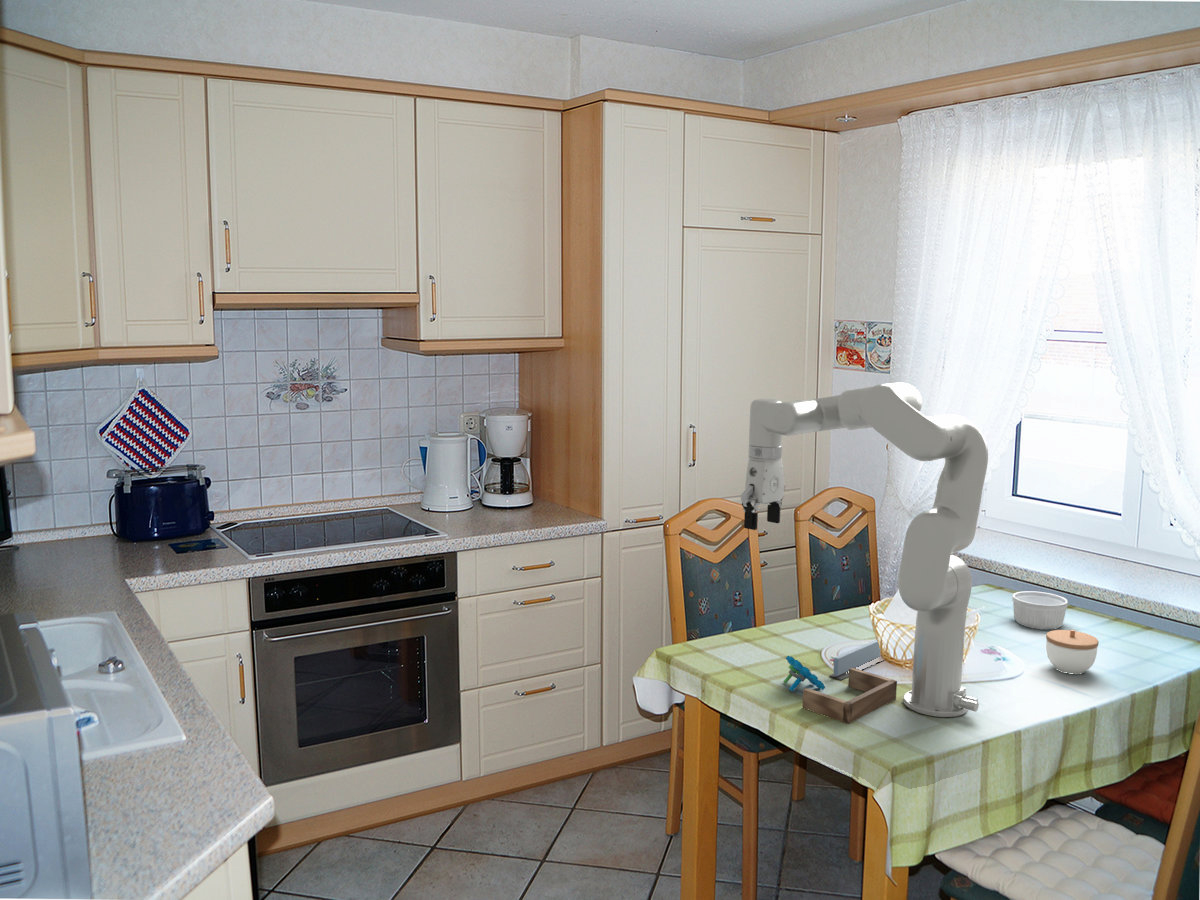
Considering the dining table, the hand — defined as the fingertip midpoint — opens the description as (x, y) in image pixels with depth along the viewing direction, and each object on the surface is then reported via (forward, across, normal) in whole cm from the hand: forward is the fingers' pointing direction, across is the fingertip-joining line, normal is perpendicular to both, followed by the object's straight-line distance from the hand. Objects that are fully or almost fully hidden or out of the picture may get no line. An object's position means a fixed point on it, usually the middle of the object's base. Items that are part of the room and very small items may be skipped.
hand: (762, 525), depth 234 cm
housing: (+30, -4, -29) cm, 42 cm away
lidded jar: (+30, +38, -59) cm, 76 cm away
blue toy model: (+31, -13, -20) cm, 39 cm away
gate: (+30, +6, -23) cm, 38 cm away
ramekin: (+31, +69, -42) cm, 86 cm away
